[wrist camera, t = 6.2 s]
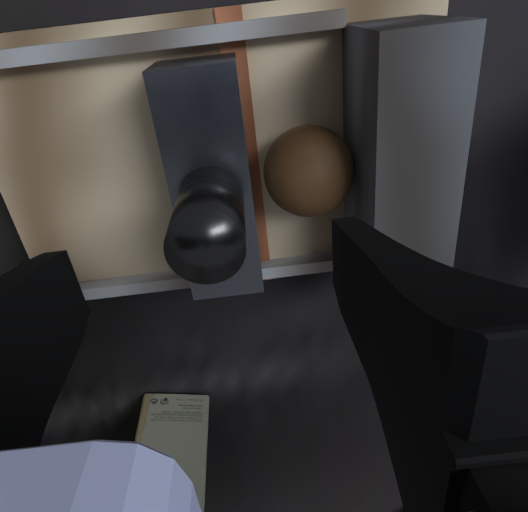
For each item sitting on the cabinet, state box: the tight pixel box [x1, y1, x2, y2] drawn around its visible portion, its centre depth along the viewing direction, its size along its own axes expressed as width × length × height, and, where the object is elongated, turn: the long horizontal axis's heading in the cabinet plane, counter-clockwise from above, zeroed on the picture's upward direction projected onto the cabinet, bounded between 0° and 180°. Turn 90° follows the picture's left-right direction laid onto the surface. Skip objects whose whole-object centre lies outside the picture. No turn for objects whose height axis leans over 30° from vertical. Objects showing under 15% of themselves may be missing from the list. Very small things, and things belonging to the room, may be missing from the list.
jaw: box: [142, 52, 264, 300], centre depth 16 cm, size 3×9×7 cm, turn 6°
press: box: [0, 0, 487, 300], centre depth 18 cm, size 19×12×7 cm, turn 96°
